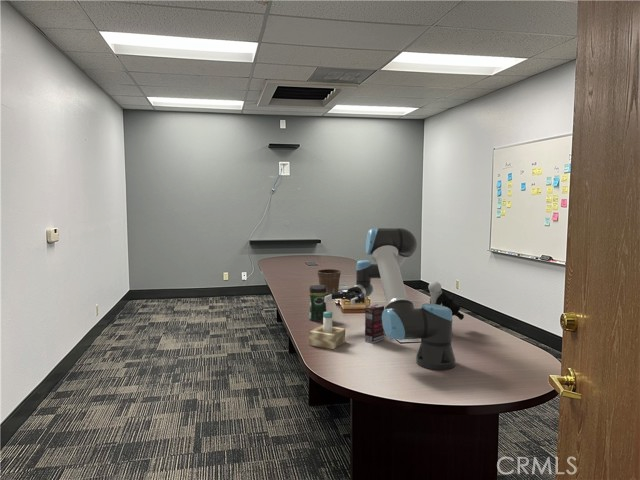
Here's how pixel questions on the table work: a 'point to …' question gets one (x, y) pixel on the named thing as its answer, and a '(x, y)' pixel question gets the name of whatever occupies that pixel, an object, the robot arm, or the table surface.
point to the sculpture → (443, 299)
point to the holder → (327, 337)
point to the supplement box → (374, 323)
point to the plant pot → (329, 279)
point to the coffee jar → (317, 302)
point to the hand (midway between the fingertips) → (338, 301)
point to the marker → (327, 322)
